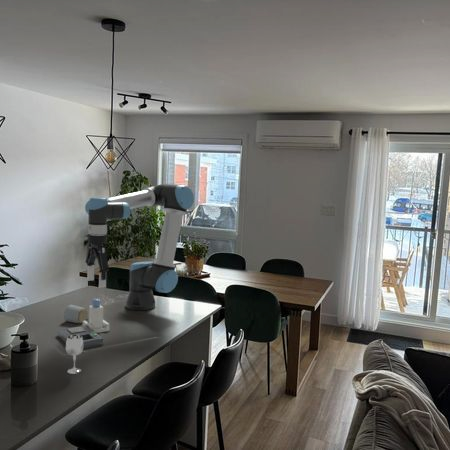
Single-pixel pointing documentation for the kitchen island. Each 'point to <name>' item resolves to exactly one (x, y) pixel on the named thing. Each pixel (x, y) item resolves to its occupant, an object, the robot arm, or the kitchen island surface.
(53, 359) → the kitchen island surface
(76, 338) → the wineglass
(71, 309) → the ceramic mug
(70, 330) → the port panel
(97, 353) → the kitchen island surface
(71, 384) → the kitchen island surface
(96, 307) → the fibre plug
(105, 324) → the holster
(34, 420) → the kitchen island surface
